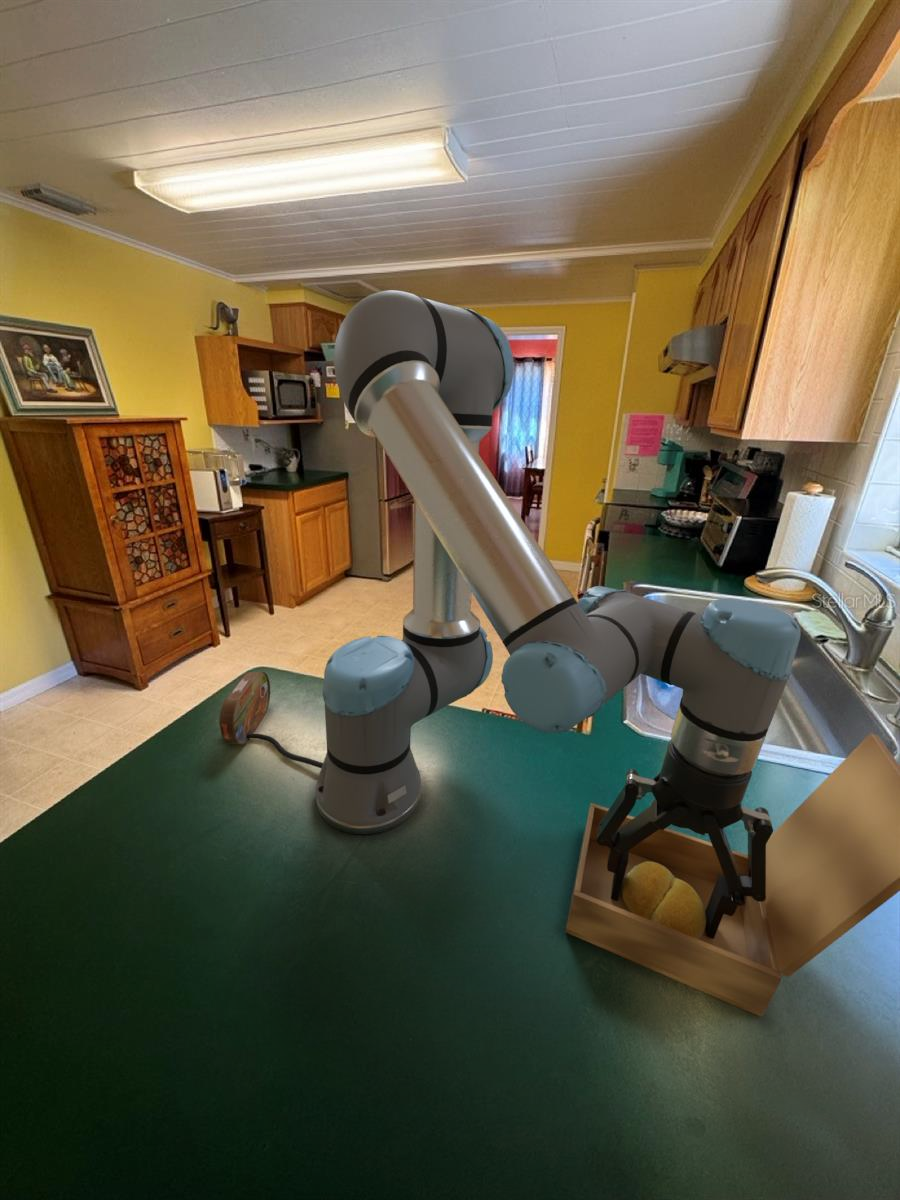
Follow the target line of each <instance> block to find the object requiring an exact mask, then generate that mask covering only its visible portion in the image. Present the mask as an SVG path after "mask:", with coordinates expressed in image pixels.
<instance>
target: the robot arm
mask: <svg viewBox="0 0 900 1200" xmlns="http://www.w3.org/2000/svg"><path fill="white" fill-rule="evenodd" d="M514 366H515V365H514V355H513V351H512V348H511V345H510V342H509V340H508V337H507V336H506V334H505V332H504V331H503V330H502V329H501V327H500V326H499V325H498V324H497V323H496V322H495V321H493V320H492V319H490V318H488V317H485V316H484V315H482V314H480V313H479V312H476V311H475V310H473V309H469V308H467V307H464V308H463V307H458V306H454V305H450V304H447V303H443V302H439V301H436V300H432V299H428V298H426V297H422V296H418V295H416V294H414V293H410V292H406V291H403V290H395V289H394V290H393V289H389V290H382V291H379V292H374V293H372V294H369V295H368V296H366V297H363V298H362V299H361V300H360V301H358V302H357V303H356V304H354V306H353V307H352V308H351V309H350V310H349V311H348V313H347V314H346V316H345V317H344V319H343V321H342V322H341V323H340V326H339V329H338V332H337V335H336V338H335V343H334V349H333V368H334V374H335V380H336V384H337V387H338V390H339V393H340V397H341V398H342V402H343V403H344V406H345V408H346V409H347V412H348V413H349V414H350V416H351V419H353V421H354V423H355V425H356V426H357V428H358V429H359V430H360V432H362V433H363V434H364V435H366V436H368V437H370V438H376V439H377V441H378V443H379V444H380V446H381V448H382V449H383V451H384V453H385V454H386V455H387V458H388V459H389V460H390V461H391V464H392V465H393V467H394V469H395V470H396V472H397V473H398V475H399V477H400V478H401V480H402V482H403V484H404V485H405V487H406V488H407V490H408V491H409V493H410V494H411V496H412V498H413V560H412V561H413V563H412V564H413V575H412V576H413V582H412V583H413V584H412V588H413V589H412V596H413V597H412V601H413V602H412V609H411V610H409V612H407V614H405V615H404V617H403V619H402V639H399V638H397V637H394V636H389V635H377V636H375V637H371V636H370V635H369V636H363V637H360V638H357V639H353V640H351V641H349V642H347V643H345V644H343V645H342V646H340V647H339V648H337V649H336V650H335V651H334V652H333V653H332V654H331V655H330V657H329V659H328V660H327V662H326V665H325V668H324V672H323V673H324V674H323V686H322V699H323V703H324V716H325V717H324V718H325V738H326V739H325V741H326V754H325V757H324V760H323V762H321V761H318V760H315V759H312V758H308V757H305V756H301V755H297V754H294V753H291V752H289V751H287V750H286V749H285V748H284V747H283V746H282V745H281V744H280V743H279V741H278V740H276V739H275V738H274V737H272V736H270V735H267V734H262V733H253V734H246V738H250V739H254V740H255V739H256V740H263V741H265V742H268V743H270V744H271V745H272V746H273V747H274V748H275V749H276V750H277V752H278V753H280V754H281V755H282V757H284V758H287V759H289V760H292V761H295V762H300V763H303V764H307V765H310V766H312V767H315V768H318V769H320V771H319V773H318V777H317V780H316V785H315V802H316V809H317V810H318V813H319V814H320V816H321V817H322V819H323V820H324V821H325V822H326V823H327V824H329V825H330V826H331V827H333V828H335V829H337V830H339V831H341V832H344V833H349V834H354V835H372V834H379V833H383V832H387V831H389V830H391V829H393V828H395V827H398V826H400V825H401V824H402V823H404V822H405V821H406V820H407V819H408V818H410V817H411V816H412V815H413V814H414V812H415V811H416V809H417V807H418V805H419V803H420V800H421V796H422V778H421V774H420V771H419V769H418V766H417V763H416V759H415V757H414V755H413V752H412V748H411V733H412V732H411V731H412V727H413V725H415V724H416V723H418V722H420V721H422V720H423V719H425V718H427V717H429V716H430V715H432V714H435V713H436V712H438V711H441V709H443V708H445V707H448V706H449V705H451V704H453V703H455V702H457V701H458V700H461V699H463V698H465V697H467V696H469V695H471V694H472V693H473V692H474V691H475V690H476V689H478V688H479V687H481V686H482V685H483V684H484V683H485V682H486V680H487V679H488V677H489V676H490V673H491V670H492V667H493V660H494V652H493V646H492V642H491V641H489V640H487V637H488V634H487V632H486V631H485V629H484V628H483V627H482V626H481V620H480V618H479V617H478V615H476V614H475V612H473V611H472V596H474V598H475V600H476V601H477V604H478V605H479V606H480V608H481V610H482V611H483V613H484V614H485V616H486V618H487V619H488V620H489V622H490V624H491V626H492V627H493V629H494V630H495V632H496V634H497V636H498V637H499V639H500V641H501V642H502V645H504V647H505V649H506V651H507V652H508V655H509V656H508V658H506V661H505V662H504V664H503V667H502V672H501V683H502V685H503V689H504V694H503V696H504V699H505V700H506V703H507V705H508V706H509V708H510V710H511V712H513V713H514V715H515V716H516V717H517V718H518V719H519V720H520V721H521V722H522V723H524V724H525V725H527V726H528V727H529V728H532V729H533V730H536V731H538V732H541V733H546V734H558V733H559V734H560V733H565V732H568V731H570V730H572V728H574V727H576V726H577V725H578V724H580V723H582V722H583V721H584V720H585V719H589V718H591V717H593V716H595V715H596V714H597V713H598V711H599V710H601V709H602V708H604V705H606V704H607V703H608V702H609V701H610V700H611V699H613V698H614V697H615V696H616V695H617V694H618V693H620V691H621V690H622V689H624V688H625V687H627V686H628V685H629V684H630V683H631V682H633V681H634V680H635V679H637V678H638V677H639V676H640V675H644V676H646V677H649V678H652V679H654V680H656V681H659V682H661V683H664V684H666V685H669V686H673V687H675V688H678V689H681V690H682V695H681V698H680V701H679V706H678V709H677V712H676V717H675V719H674V723H673V726H672V730H671V733H670V739H669V741H668V743H667V746H666V747H667V748H666V751H665V755H664V758H663V762H662V766H661V770H660V772H659V773H658V774H657V775H656V776H655V777H654V778H649V777H645V776H639V772H638V771H637V770H636V769H633V768H630V769H628V770H627V772H626V778H625V785H624V786H623V787H622V789H621V791H620V792H619V794H618V795H617V797H616V798H615V799H614V801H613V803H611V806H610V807H609V808H608V809H609V810H608V812H607V813H606V815H605V816H604V818H603V819H602V820H601V822H600V823H599V828H598V834H597V843H598V844H599V845H601V846H607V847H609V848H610V852H609V856H608V863H607V869H608V871H610V872H613V873H614V877H613V882H612V892H611V899H613V900H615V901H618V897H619V894H620V890H621V886H622V882H623V879H624V875H625V871H626V868H627V864H628V857H629V850H630V849H631V848H633V847H634V846H636V845H637V844H639V843H640V842H642V841H643V840H644V839H646V838H647V837H649V836H650V835H652V834H653V833H655V832H656V831H657V830H659V829H661V830H664V829H665V828H668V827H670V826H674V827H677V828H679V829H688V830H690V831H692V832H693V833H696V834H699V835H701V836H705V835H706V834H707V835H708V837H709V841H710V843H712V846H713V847H714V849H715V852H716V855H717V857H718V860H719V863H720V866H721V868H722V871H723V874H724V876H723V875H720V874H719V876H718V879H717V881H716V884H715V887H714V889H713V892H712V895H711V897H710V900H709V903H708V905H707V908H706V911H705V913H706V927H705V929H706V936H707V937H710V938H712V939H714V937H715V934H716V932H717V929H718V927H719V924H720V922H721V919H722V917H723V914H726V915H729V916H732V915H734V914H735V911H736V909H737V906H738V905H744V904H745V898H744V896H751V897H752V898H753V899H754V900H756V901H759V902H762V901H765V899H766V843H767V842H768V840H769V838H770V836H771V835H772V834H773V833H774V828H773V824H772V820H771V817H770V814H769V811H768V809H767V808H765V807H761V806H760V807H759V806H758V807H756V808H754V809H752V808H749V807H746V806H744V805H742V803H743V800H744V797H745V794H746V792H747V789H748V787H749V784H750V781H751V779H752V776H753V770H754V769H755V766H756V764H757V761H758V759H759V756H760V753H761V750H762V748H763V746H764V743H765V739H766V737H767V733H768V731H769V728H770V727H771V724H772V721H773V719H774V716H775V714H776V710H777V708H778V705H779V704H780V701H781V698H782V695H783V693H784V691H785V688H786V686H787V683H788V680H789V678H790V675H791V673H792V670H793V664H794V661H795V658H796V654H797V651H798V648H799V643H800V641H801V628H800V625H799V623H798V622H797V620H796V619H795V618H793V616H792V615H790V614H789V613H787V612H785V611H784V610H782V609H779V608H777V607H774V606H772V605H768V604H765V603H762V602H759V601H755V600H745V599H744V600H743V599H739V598H736V597H735V598H734V597H724V598H719V599H714V600H712V601H711V602H709V603H708V604H707V606H706V609H705V611H704V612H702V613H701V612H694V611H691V610H687V609H683V608H681V607H677V606H674V605H671V604H667V603H664V602H660V601H658V600H654V599H651V598H647V597H644V596H642V595H637V594H634V593H633V592H631V591H628V590H626V589H621V588H620V589H616V588H611V587H606V586H602V585H598V586H597V585H596V586H593V587H591V588H588V589H587V590H586V591H584V594H583V596H582V597H580V598H579V599H578V600H576V599H575V597H574V596H573V594H572V592H571V591H570V590H569V588H568V586H567V584H566V583H565V581H564V580H563V579H562V577H561V576H560V574H559V573H558V572H557V570H556V568H555V567H554V565H553V564H552V562H551V561H550V559H549V558H548V557H547V555H546V553H545V551H544V550H543V549H542V548H541V545H540V544H539V543H538V541H537V539H536V538H535V537H534V535H533V534H532V532H531V530H530V529H529V527H528V526H527V525H526V523H525V521H524V520H523V519H522V517H521V515H520V514H519V513H518V512H517V510H516V508H515V506H514V505H513V504H512V501H510V499H509V497H508V496H507V495H506V493H505V492H504V491H503V489H502V487H501V486H500V484H499V482H498V481H497V480H496V478H495V477H494V475H493V473H492V472H491V471H490V469H489V467H488V466H487V465H486V463H485V462H484V460H483V459H482V457H481V456H480V443H481V441H482V440H483V438H484V437H485V436H487V435H488V433H489V432H490V431H491V430H492V429H493V416H494V411H496V410H497V409H498V408H500V407H501V405H503V403H504V402H503V400H504V399H505V398H506V397H508V395H509V393H510V390H511V387H512V384H513V379H514V372H515V371H514V370H515V369H514V368H515V367H514ZM648 793H651V794H652V796H653V797H654V800H653V801H652V803H651V805H649V807H647V808H646V809H644V810H643V811H642V812H640V813H639V814H637V815H636V816H634V817H635V818H633V819H632V820H631V821H629V822H628V823H627V824H625V825H624V826H623V827H621V828H620V829H619V830H618V828H619V827H620V826H621V824H622V823H623V821H624V820H625V819H626V817H627V816H628V815H629V814H630V813H631V811H632V810H633V809H634V807H635V805H636V802H637V800H638V801H641V800H642V798H644V797H645V796H646V794H648ZM739 821H742V823H743V827H744V829H745V831H746V832H747V855H748V876H740V873H739V870H738V867H737V865H736V862H735V859H734V856H733V853H732V851H731V850H732V848H731V845H730V843H729V840H728V836H727V834H726V831H725V828H727V827H730V826H732V825H734V824H736V823H739Z"/></svg>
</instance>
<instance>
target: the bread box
mask: <svg viewBox="0 0 900 1200" xmlns="http://www.w3.org/2000/svg"><path fill="white" fill-rule="evenodd" d="M609 809H610V808H609V807H605V806H602V805H599V804H596V803H593V802H590V805H589V808H588V813H587V816H586V817H587V818H586V823H585V827H584V832H583V836H582V840H581V846H580V852H579V857H578V861H577V867H576V874H575V879H574V883H573V889H572V893H571V900H570V905H569V909H568V910H569V911H568V917H567V922H566V926H565V933H567V934H568V935H571V936H573V937H576V938H578V939H580V940H582V941H585V942H587V943H590V944H591V945H593V946H596V947H599V948H601V949H603V950H606V951H608V952H610V953H613V954H615V955H617V956H619V957H621V958H624V959H626V960H628V961H630V962H633V963H635V964H638V965H640V966H642V967H645V968H647V969H649V970H652V971H654V972H656V973H659V974H661V975H663V976H666V977H668V978H670V979H673V980H675V981H678V982H679V983H682V984H684V985H687V986H689V987H692V988H693V989H695V990H698V991H701V992H702V993H705V994H707V995H710V996H711V997H714V998H716V999H719V1000H721V1001H724V1002H726V1003H728V1004H730V1005H733V1006H735V1007H737V1008H738V1009H739V1008H740V1009H742V1010H744V1011H746V1012H749V1013H751V1014H753V1015H756V1016H758V1017H760V1018H763V1016H764V1014H765V1013H766V1011H767V1009H768V1008H769V1005H770V1002H771V1000H772V999H773V997H774V995H775V993H776V991H777V989H778V987H779V985H780V983H781V982H782V979H783V977H782V974H781V973H780V972H779V967H778V962H777V958H776V953H775V949H774V944H773V940H772V935H771V930H770V926H769V921H768V917H767V912H766V908H765V903H764V901H762V902H759V901H756V900H754V899H753V898H752V897H751V896H744V898H745V904H744V905H738V906H737V909H736V911H735V914H734V915H732V916H729V915H726V914H723V917H722V919H721V922H720V924H719V927H718V929H717V932H716V934H715V937H714V939H712V938H710V937H707V936H706V929H705V930H704V932H703V934H702V936H701V937H700V939H699V940H698V939H696V938H693V937H691V936H688V935H686V934H683V933H681V932H678V931H676V930H673V929H671V928H668V927H666V926H663V925H661V924H658V923H656V922H653V921H651V920H648V919H646V918H643V917H641V916H638V915H636V914H633V913H631V912H630V911H629V910H628V908H627V906H626V904H625V902H624V900H623V897H622V893H621V890H620V894H619V897H618V901H615V900H613V899H611V892H612V882H613V877H614V873H613V872H610V871H608V869H607V863H608V856H609V852H610V848H609V847H607V846H601V845H599V844H598V843H597V834H598V828H599V823H600V822H601V820H602V819H603V818H604V816H605V815H606V813H607V812H608V810H609ZM635 817H636V816H632V815H629V814H628V816H627V817H626V819H625V820H624V821H623V823H622V824H621V826H620V827H619V828H618V830H619V829H620V828H621V827H623V826H624V825H625V824H627V823H628V822H629V821H631V820H632V819H633V818H635ZM731 851H732V853H733V856H734V859H735V862H736V865H737V867H738V870H739V873H740V876H748V854H746V853H743V852H739V851H737V850H734V849H731ZM647 861H648V862H655V863H659V864H660V865H662V866H664V867H666V868H667V869H668V870H669V871H670V872H671V874H672V875H673V876H675V877H676V878H678V879H680V880H682V881H684V882H686V883H688V884H689V885H690V886H691V887H692V888H693V889H694V890H695V891H696V893H697V894H698V896H699V898H700V899H701V901H702V903H703V905H704V908H705V911H706V908H707V905H708V903H709V900H710V897H711V895H712V892H713V889H714V887H715V884H716V881H717V879H718V876H719V874H720V875H723V876H724V874H723V871H722V868H721V866H720V863H719V860H718V857H717V855H716V852H715V849H714V847H713V846H712V843H711V841H707V840H705V839H701V838H698V837H695V836H692V835H689V834H686V833H684V832H680V831H677V830H674V829H672V828H671V829H670V828H668V827H667V828H665V829H664V830H661V829H659V830H657V831H656V832H655V833H653V834H652V835H650V836H649V837H647V838H646V839H644V840H643V841H642V842H640V843H639V844H637V845H636V846H634V847H633V848H631V849H630V850H629V857H628V864H627V868H626V871H625V875H624V877H625V876H626V874H628V873H629V872H630V871H631V870H632V868H634V866H637V865H639V864H641V863H643V862H647Z"/></svg>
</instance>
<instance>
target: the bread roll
mask: <svg viewBox="0 0 900 1200" xmlns="http://www.w3.org/2000/svg"><path fill="white" fill-rule="evenodd" d="M621 893H622V897H623V900H624V902H625V904H626V906H627V908H628V910H629V911H630V912H631V913H633V914H636V915H638V916H641V917H643V918H646V919H648V920H651V921H653V922H656V923H658V924H661V925H663V926H666V927H668V928H671V929H673V930H676V931H678V932H681V933H683V934H686V935H688V936H691V937H693V938H696V939H698V940H699V939H700V937H701V936H702V934H703V932H704V930H705V927H706V913H705V908H704V905H703V903H702V901H701V899H700V898H699V896H698V894H697V893H696V891H695V890H694V889H693V888H692V887H691V886H690V885H689V884H688V883H686V882H684V881H682V880H680V879H678V878H676V877H675V876H673V875H672V874H671V872H670V871H669V870H668V869H667V868H666V867H664V866H662V865H660V864H659V863H655V862H648V861H647V862H643V863H641V864H639V865H637V866H634V868H632V870H631V871H630V872H629V873H628V874H626V876H625V877H624V879H623V882H622V886H621Z"/></svg>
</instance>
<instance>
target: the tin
mask: <svg viewBox="0 0 900 1200" xmlns="http://www.w3.org/2000/svg"><path fill="white" fill-rule="evenodd" d="M270 700H271V682H270V678H269V676H268V674H267V673H266V672H265V671H263V670H262V671H249V672H246V673H245V674H244V675H243V676H242V677H241V678H240V680H239V681H238V682H237V684H236V685H235V686H234V687H233V689H232V690H231V691H230V693H228V695H227V696H226V698H225V699H224V701H223V703H222V705H221V707H220V711H219V719H218V724H219V728H220V734H221V737H222V740H223V742H225V743H226V744H230V745H231V744H232V745H237V744H238V745H245V744H247V743H248V742H249V741H250V739H251V738H246V734H255V731H256V730H257V728H258V726H259V724H260V723H261V721H262V720H263V718H264V716H265V715H266V713H267V711H268V709H269V705H270Z"/></svg>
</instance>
